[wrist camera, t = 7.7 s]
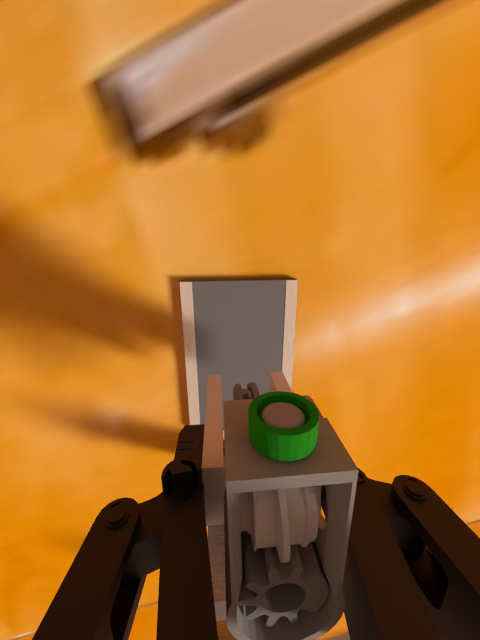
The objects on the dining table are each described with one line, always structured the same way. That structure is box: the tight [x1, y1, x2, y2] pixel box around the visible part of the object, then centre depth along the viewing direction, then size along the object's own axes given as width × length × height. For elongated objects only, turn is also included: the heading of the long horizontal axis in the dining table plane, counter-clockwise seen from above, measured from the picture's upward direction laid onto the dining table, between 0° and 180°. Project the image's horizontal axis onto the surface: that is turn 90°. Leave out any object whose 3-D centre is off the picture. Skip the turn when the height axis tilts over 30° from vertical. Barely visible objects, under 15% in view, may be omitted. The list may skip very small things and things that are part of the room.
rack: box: [208, 443, 234, 640], centre depth 20 cm, size 16×5×10 cm, turn 1°
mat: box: [180, 279, 298, 430], centre depth 20 cm, size 12×8×1 cm, turn 1°
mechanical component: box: [223, 382, 359, 640], centre depth 11 cm, size 3×10×10 cm, turn 1°
